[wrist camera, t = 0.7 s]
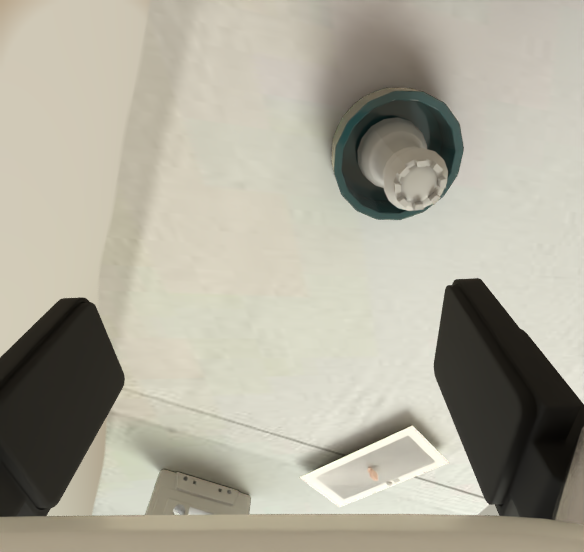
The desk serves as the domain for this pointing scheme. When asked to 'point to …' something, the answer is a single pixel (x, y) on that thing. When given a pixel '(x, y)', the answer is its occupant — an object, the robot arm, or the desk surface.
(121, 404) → the desk surface
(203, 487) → the cassette
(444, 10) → the desk surface
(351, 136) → the teal round bowl
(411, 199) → the rook chess piece
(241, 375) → the desk surface
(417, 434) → the touchpad
